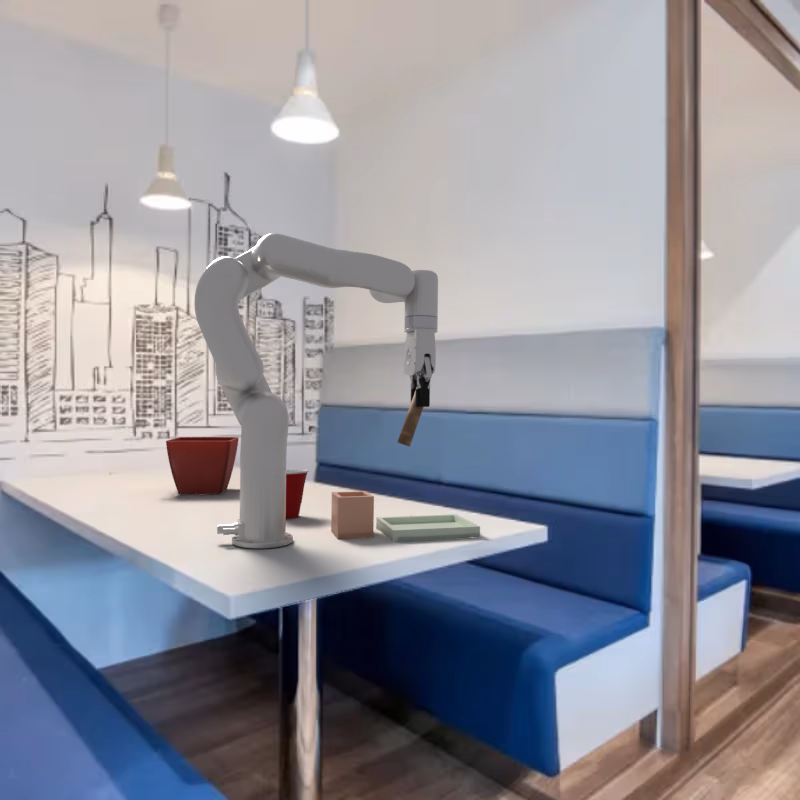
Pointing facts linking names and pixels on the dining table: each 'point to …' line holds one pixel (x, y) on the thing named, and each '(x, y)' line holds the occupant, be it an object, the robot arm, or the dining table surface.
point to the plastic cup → (294, 491)
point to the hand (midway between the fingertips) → (420, 405)
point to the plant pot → (202, 463)
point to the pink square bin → (352, 514)
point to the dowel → (410, 423)
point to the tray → (426, 527)
